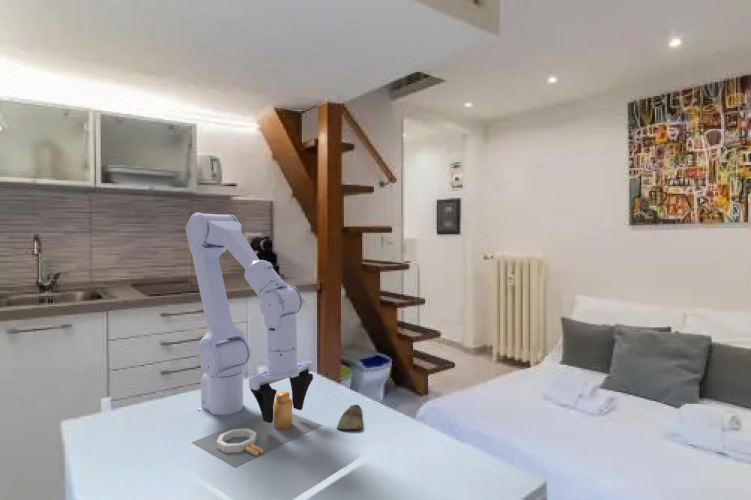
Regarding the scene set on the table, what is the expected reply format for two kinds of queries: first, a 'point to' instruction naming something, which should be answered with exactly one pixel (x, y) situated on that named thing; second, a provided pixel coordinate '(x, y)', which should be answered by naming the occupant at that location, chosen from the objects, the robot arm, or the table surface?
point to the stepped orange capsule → (282, 411)
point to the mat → (252, 439)
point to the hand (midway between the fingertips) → (283, 414)
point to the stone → (351, 419)
